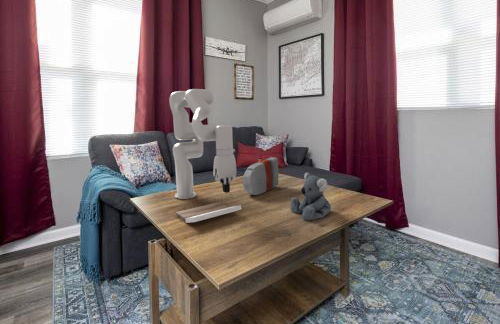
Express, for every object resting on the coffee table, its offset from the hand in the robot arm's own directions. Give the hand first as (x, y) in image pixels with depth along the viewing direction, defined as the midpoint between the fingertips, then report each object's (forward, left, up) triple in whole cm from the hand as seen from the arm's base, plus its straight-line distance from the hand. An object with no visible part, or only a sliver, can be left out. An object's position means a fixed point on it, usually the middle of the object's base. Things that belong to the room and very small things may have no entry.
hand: (226, 192), depth 133 cm
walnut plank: (-12, -6, -12) cm, 18 cm away
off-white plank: (-1, -6, -11) cm, 12 cm away
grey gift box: (-22, +40, -13) cm, 47 cm away
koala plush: (+22, +35, -13) cm, 43 cm away
